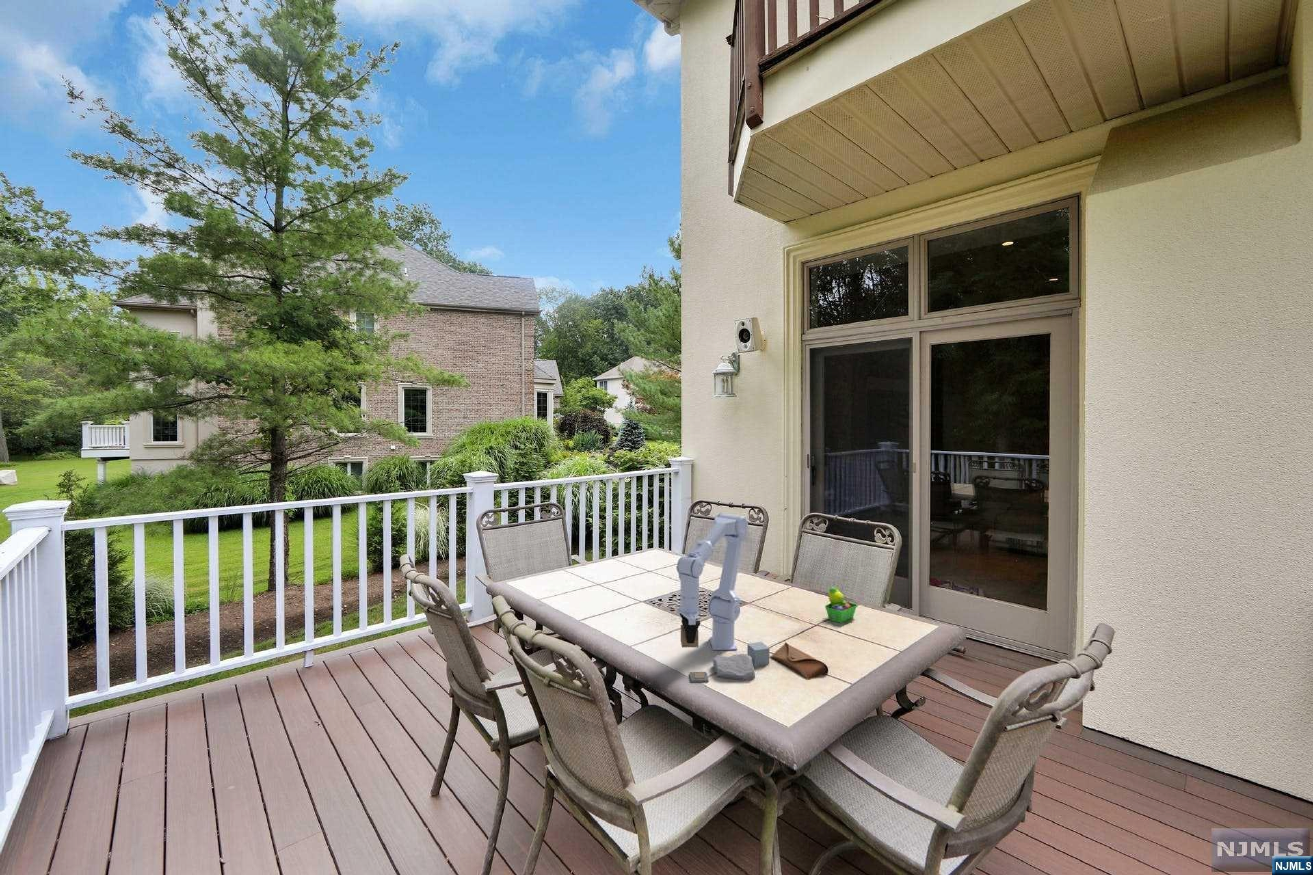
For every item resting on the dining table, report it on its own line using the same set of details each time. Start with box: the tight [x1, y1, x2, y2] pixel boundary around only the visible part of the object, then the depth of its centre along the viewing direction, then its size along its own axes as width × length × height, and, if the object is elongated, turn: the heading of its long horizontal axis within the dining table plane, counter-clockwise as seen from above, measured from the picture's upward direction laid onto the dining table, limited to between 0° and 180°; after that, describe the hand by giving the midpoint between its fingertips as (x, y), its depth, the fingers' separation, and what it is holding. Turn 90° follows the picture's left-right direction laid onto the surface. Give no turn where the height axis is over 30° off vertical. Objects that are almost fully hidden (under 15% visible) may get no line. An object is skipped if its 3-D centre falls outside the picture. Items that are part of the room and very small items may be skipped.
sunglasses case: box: [769, 642, 829, 681], centre depth 162 cm, size 18×7×7 cm
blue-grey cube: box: [746, 641, 770, 667], centre depth 164 cm, size 5×5×5 cm
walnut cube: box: [680, 624, 699, 648], centre depth 161 cm, size 5×5×5 cm
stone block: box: [712, 653, 756, 681], centre depth 157 cm, size 12×5×10 cm
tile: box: [689, 671, 710, 683], centre depth 153 cm, size 5×5×1 cm
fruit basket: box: [824, 586, 858, 624], centre depth 200 cm, size 11×9×11 cm
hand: (689, 638), depth 161 cm, fingers closed on walnut cube, 5 cm apart
